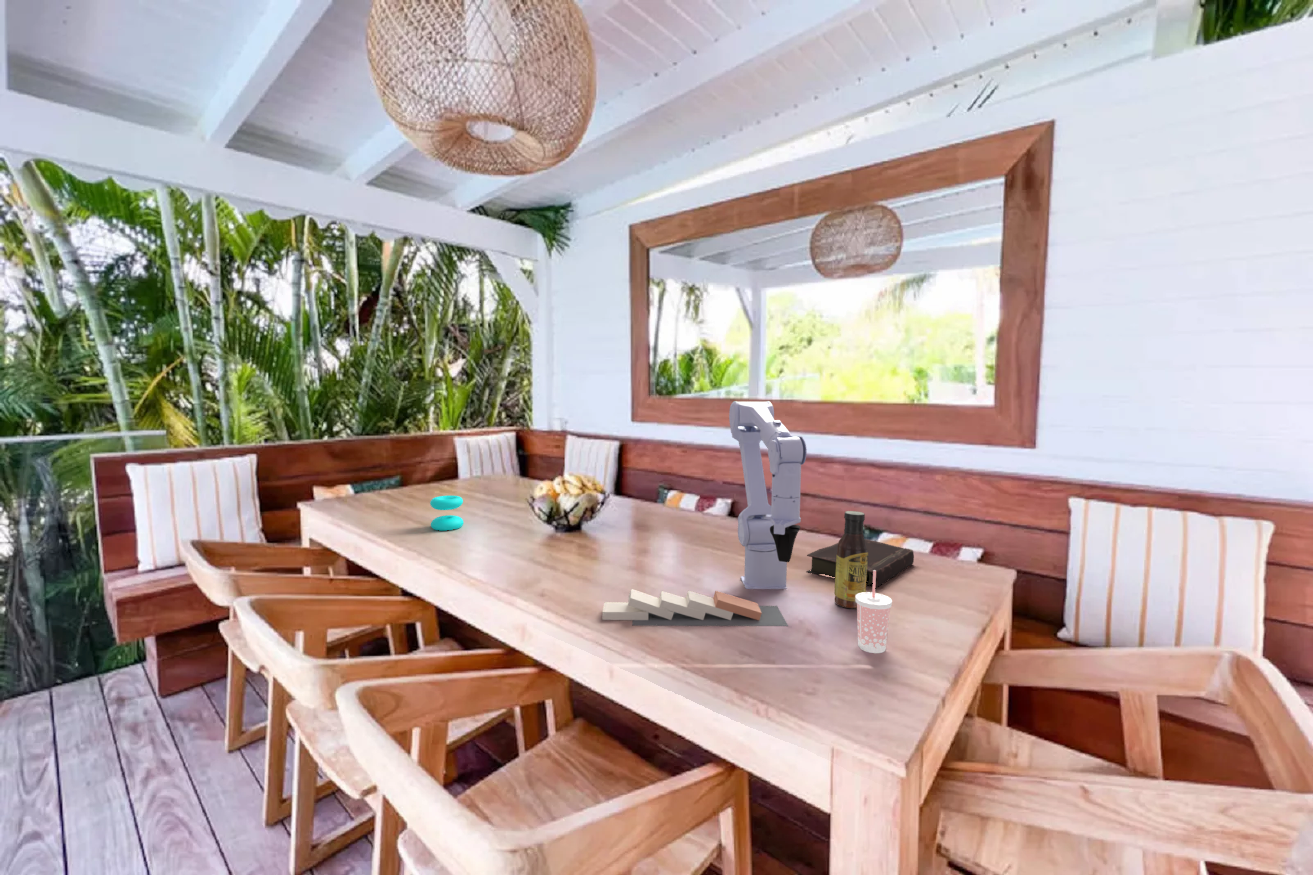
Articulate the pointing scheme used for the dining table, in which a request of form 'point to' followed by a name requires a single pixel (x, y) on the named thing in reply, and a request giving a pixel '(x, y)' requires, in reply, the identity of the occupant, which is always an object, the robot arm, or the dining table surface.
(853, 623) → the dining table surface
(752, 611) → the terracotta domino
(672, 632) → the dining table surface
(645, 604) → the domino
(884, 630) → the beverage cup
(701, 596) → the domino
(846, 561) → the sauce bottle
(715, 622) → the slate mat
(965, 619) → the dining table surface
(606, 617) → the domino
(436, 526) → the donuts
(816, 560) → the diary
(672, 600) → the domino
